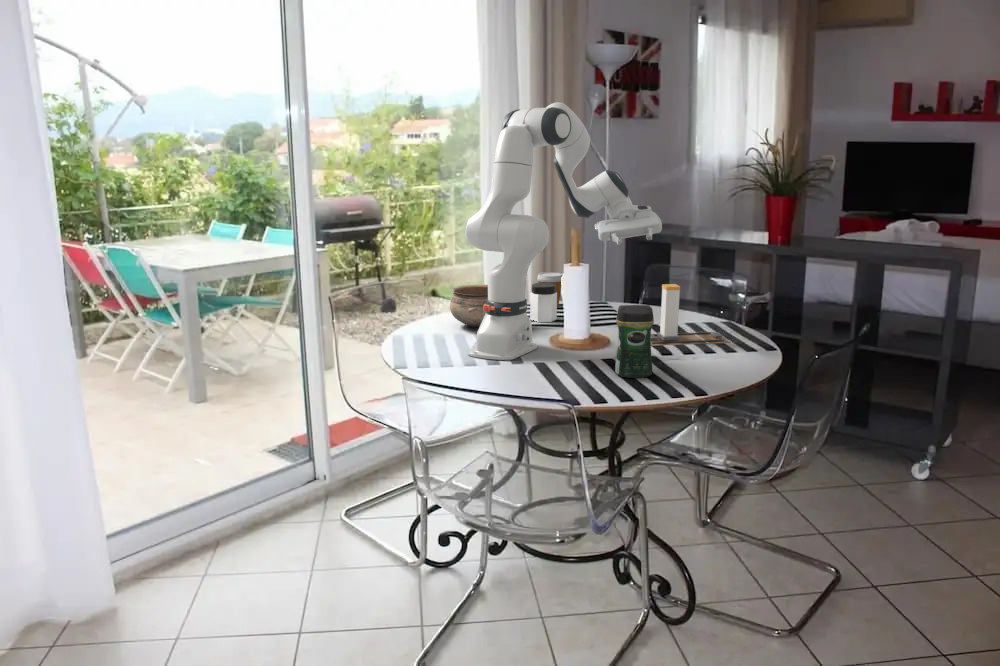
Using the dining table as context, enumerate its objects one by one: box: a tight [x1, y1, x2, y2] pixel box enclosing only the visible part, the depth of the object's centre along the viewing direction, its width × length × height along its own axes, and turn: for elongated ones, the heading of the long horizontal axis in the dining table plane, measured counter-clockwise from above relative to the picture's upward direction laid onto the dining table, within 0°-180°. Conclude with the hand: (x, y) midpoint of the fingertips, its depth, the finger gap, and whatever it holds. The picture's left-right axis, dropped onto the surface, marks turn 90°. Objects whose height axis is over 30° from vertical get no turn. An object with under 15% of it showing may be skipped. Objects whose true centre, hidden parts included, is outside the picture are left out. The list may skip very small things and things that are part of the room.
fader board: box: [651, 331, 732, 347], centre depth 242 cm, size 26×13×2 cm, turn 97°
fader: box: [656, 283, 681, 341], centre depth 240 cm, size 5×6×16 cm
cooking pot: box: [449, 284, 488, 330], centre depth 262 cm, size 25×19×12 cm
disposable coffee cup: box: [536, 271, 563, 308], centre depth 290 cm, size 10×10×12 cm
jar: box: [529, 282, 558, 323], centre depth 270 cm, size 9×8×12 cm
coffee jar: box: [614, 304, 655, 379], centre depth 209 cm, size 10×8×19 cm
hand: (634, 240), depth 250 cm, fingers open, 8 cm apart
